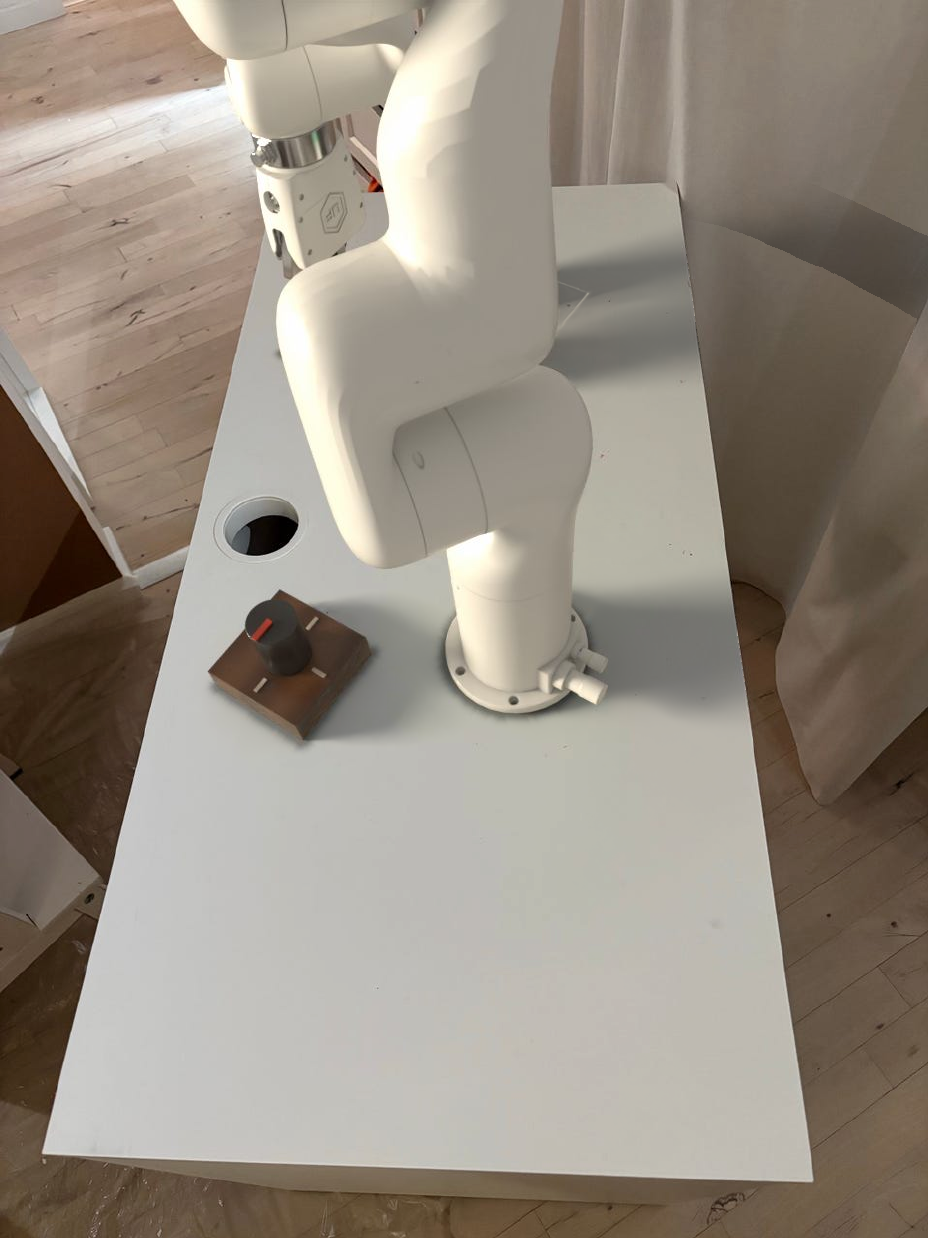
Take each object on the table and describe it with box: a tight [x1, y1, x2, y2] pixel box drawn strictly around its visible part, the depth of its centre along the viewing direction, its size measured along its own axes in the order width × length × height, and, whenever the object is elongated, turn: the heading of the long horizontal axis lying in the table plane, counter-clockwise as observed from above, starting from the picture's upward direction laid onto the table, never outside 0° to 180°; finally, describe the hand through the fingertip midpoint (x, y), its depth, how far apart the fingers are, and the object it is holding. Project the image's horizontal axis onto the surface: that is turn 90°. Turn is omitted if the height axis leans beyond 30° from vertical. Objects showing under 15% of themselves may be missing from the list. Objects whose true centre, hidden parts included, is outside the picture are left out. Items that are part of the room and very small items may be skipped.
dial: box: [244, 598, 312, 676], centre depth 80 cm, size 4×4×6 cm
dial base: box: [207, 589, 372, 741], centre depth 84 cm, size 10×10×3 cm
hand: (334, 299), depth 102 cm, fingers closed
